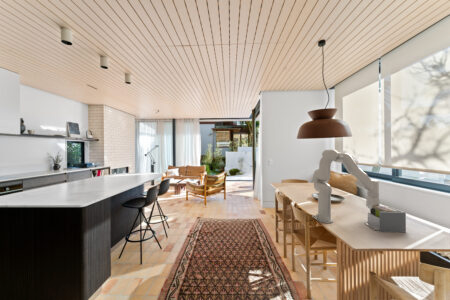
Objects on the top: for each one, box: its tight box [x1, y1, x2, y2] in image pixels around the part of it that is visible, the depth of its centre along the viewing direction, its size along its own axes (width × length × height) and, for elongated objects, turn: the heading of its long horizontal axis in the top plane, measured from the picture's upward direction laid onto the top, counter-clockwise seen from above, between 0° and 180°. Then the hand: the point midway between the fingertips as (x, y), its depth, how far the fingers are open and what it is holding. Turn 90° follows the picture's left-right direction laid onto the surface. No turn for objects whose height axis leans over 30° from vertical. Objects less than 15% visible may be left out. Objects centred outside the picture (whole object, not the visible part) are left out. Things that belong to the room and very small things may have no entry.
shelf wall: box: [379, 206, 407, 233], centre depth 145 cm, size 17×14×14 cm
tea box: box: [372, 205, 399, 217], centre depth 146 cm, size 15×10×15 cm, turn 176°
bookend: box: [364, 212, 381, 232], centre depth 146 cm, size 4×13×9 cm, turn 176°
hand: (373, 216), depth 158 cm, fingers closed
